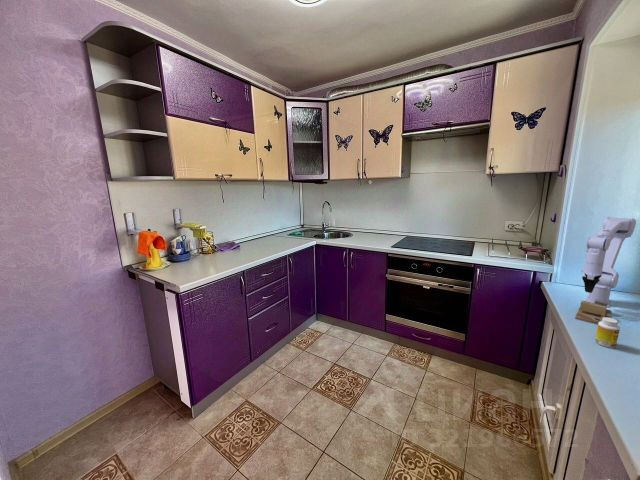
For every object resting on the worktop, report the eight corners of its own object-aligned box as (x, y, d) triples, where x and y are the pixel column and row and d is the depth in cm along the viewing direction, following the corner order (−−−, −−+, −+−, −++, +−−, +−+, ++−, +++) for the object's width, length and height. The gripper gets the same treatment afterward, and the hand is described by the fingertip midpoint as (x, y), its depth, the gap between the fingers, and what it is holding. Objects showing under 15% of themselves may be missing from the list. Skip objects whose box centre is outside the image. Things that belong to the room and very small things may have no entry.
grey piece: (593, 307, 126) (595, 298, 125) (606, 310, 123) (607, 301, 122) (589, 319, 116) (591, 309, 115) (603, 322, 113) (605, 312, 112)
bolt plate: (581, 305, 131) (581, 303, 130) (610, 312, 123) (611, 309, 123) (575, 318, 119) (575, 316, 119) (607, 327, 111) (608, 324, 111)
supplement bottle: (614, 350, 97) (619, 325, 95) (592, 343, 101) (597, 319, 99) (617, 344, 100) (622, 320, 98) (596, 338, 104) (601, 314, 102)
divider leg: (580, 309, 124) (581, 300, 123) (604, 315, 118) (606, 305, 117) (579, 311, 122) (580, 302, 121) (604, 317, 116) (606, 308, 115)
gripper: (584, 257, 128) (579, 284, 131) (580, 264, 119) (575, 292, 122) (605, 260, 123) (600, 287, 126) (602, 267, 114) (597, 296, 117)
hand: (589, 290), depth 123 cm, fingers open, 6 cm apart
